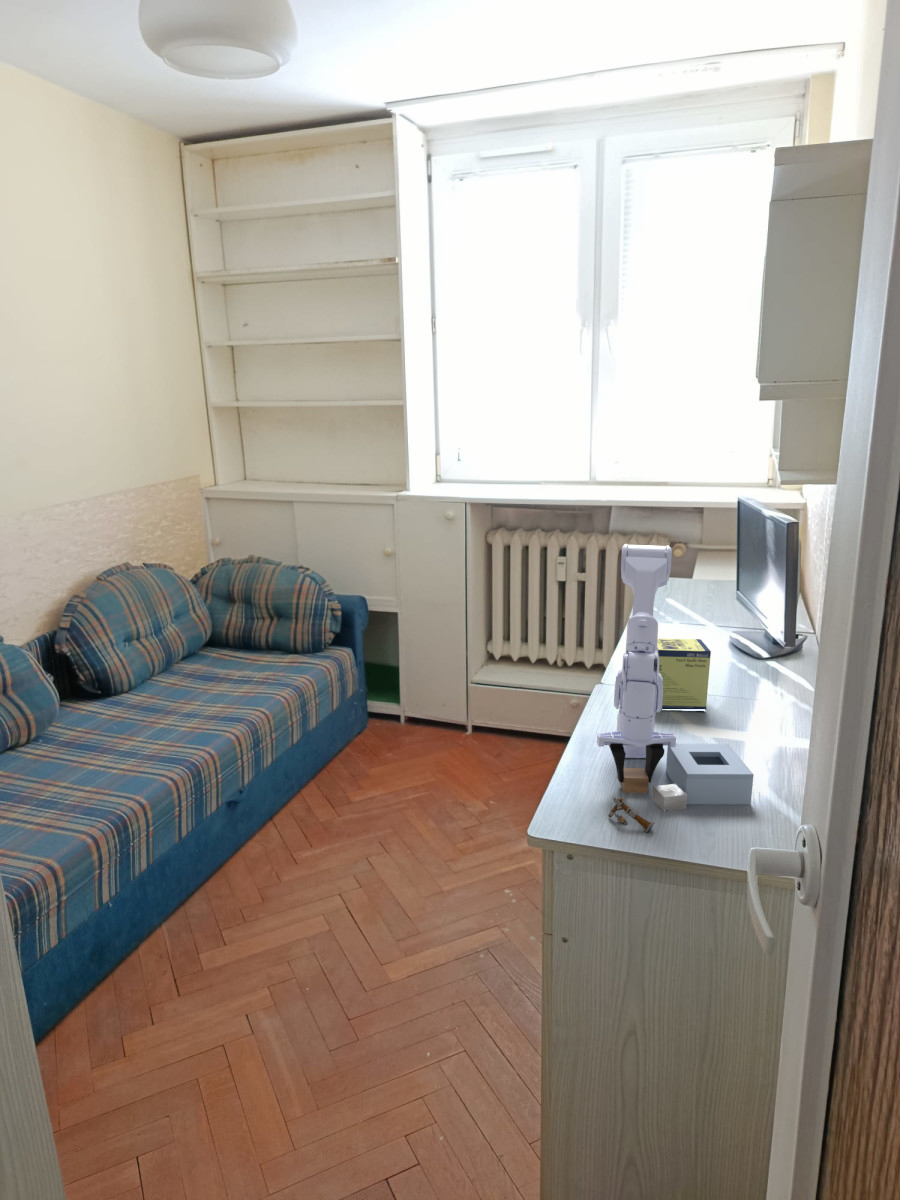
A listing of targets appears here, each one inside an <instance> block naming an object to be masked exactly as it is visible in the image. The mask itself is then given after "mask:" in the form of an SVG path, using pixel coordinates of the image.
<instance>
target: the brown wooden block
mask: <svg viewBox="0 0 900 1200" xmlns="http://www.w3.org/2000/svg"><path fill="white" fill-rule="evenodd" d="M648 782H649V778H648V776H647V774H646V772H645V767H643V768H642V767H624V780H623V782H619V784H620V786H621V788H622V791H623V793H626V792H627V793H628V794H629V792H630V793H631V794H632V793H633V794H634V793H636V794H637V793H639V794H645V793H646V794H648V792H649V783H648Z"/></svg>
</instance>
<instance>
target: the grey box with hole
mask: <svg viewBox="0 0 900 1200" xmlns="http://www.w3.org/2000/svg"><path fill="white" fill-rule="evenodd" d="M666 750H667V751H666V763H665V764H666V765H665V766H666V767H665V773H666V775H668V778H669V779H670V781H671V782H672V783H671V784H676V785H677V786H678V787H679V788H680V789H682V790H683V791H684V792H685V793H686V794H687V805H738V806H739V805H740V806H741V805H746V806H747V805H752V804H751V803H752V796H753V795H752V794H753V785H754V775H755V774H754V773H753V771H752V770H751V769H750V768H749V767H748V765H746V763H745V762H744V760H742V759H741V757H740V756H739V755H738V754H737V752H736V751H735V750H734V749H733V748H732V747H731V746H730V744H729V743H676V747H670V746H669V745H667V749H666Z"/></svg>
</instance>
